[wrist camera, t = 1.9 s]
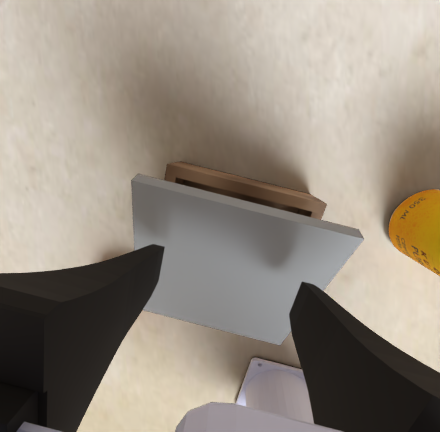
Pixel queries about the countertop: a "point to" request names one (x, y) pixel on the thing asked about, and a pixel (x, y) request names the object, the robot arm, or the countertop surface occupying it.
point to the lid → (233, 257)
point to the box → (245, 189)
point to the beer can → (418, 228)
